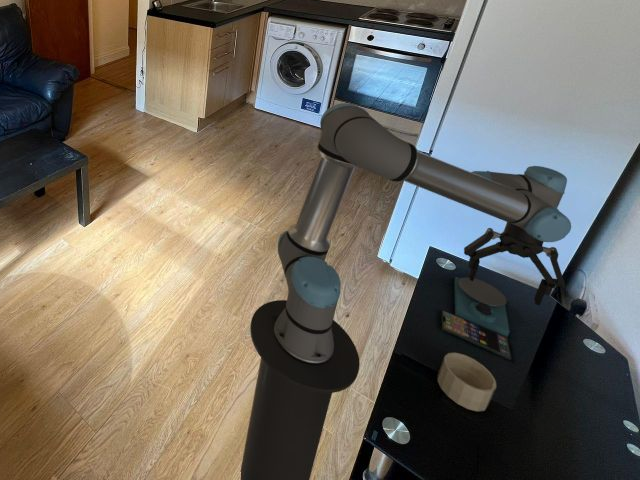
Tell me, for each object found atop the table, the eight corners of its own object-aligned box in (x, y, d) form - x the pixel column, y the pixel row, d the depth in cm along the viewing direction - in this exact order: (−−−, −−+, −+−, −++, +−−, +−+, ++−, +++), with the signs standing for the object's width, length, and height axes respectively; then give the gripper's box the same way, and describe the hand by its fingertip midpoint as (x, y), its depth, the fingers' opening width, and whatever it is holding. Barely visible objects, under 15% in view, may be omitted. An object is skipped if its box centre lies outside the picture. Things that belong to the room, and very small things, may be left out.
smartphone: (510, 360, 108) (512, 356, 108) (441, 330, 116) (442, 327, 116) (506, 339, 114) (507, 336, 114) (441, 312, 123) (442, 309, 122)
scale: (507, 337, 115) (511, 327, 114) (454, 315, 122) (458, 306, 121) (501, 298, 129) (504, 290, 128) (454, 281, 136) (457, 272, 134)
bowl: (436, 395, 98) (444, 373, 96) (437, 365, 106) (444, 345, 104) (488, 422, 93) (498, 400, 91) (485, 389, 100) (494, 368, 98)
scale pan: (458, 294, 125) (459, 293, 125) (458, 273, 134) (458, 272, 134) (508, 313, 119) (508, 312, 119) (504, 290, 128) (504, 289, 127)
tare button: (490, 316, 118) (491, 312, 117) (476, 311, 119) (478, 307, 119) (489, 310, 120) (490, 306, 120) (476, 305, 122) (477, 301, 121)
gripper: (467, 212, 109) (446, 276, 115) (602, 252, 95) (570, 322, 101) (466, 200, 115) (446, 262, 121) (594, 236, 100) (563, 304, 107)
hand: (502, 289), depth 111 cm, fingers open, 13 cm apart
